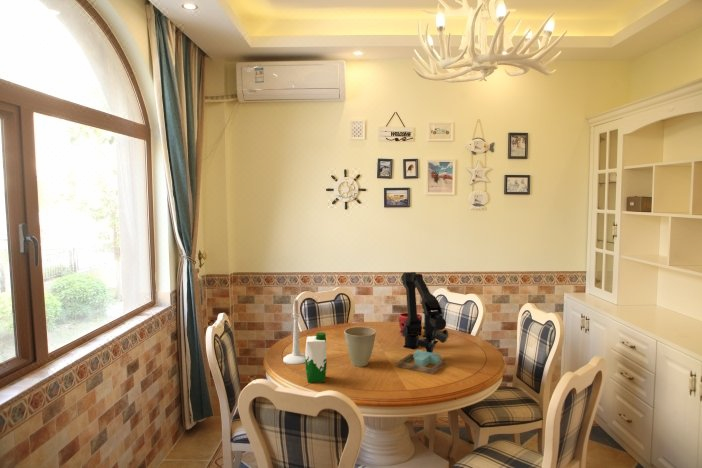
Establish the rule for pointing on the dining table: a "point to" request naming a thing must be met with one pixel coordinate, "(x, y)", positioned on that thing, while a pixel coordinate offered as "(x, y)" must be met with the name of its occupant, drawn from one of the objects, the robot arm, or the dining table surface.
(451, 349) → the dining table surface
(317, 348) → the milk carton
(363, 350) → the plant pot
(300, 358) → the candlestick
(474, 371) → the dining table surface
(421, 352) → the tee
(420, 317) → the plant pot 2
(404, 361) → the dock
